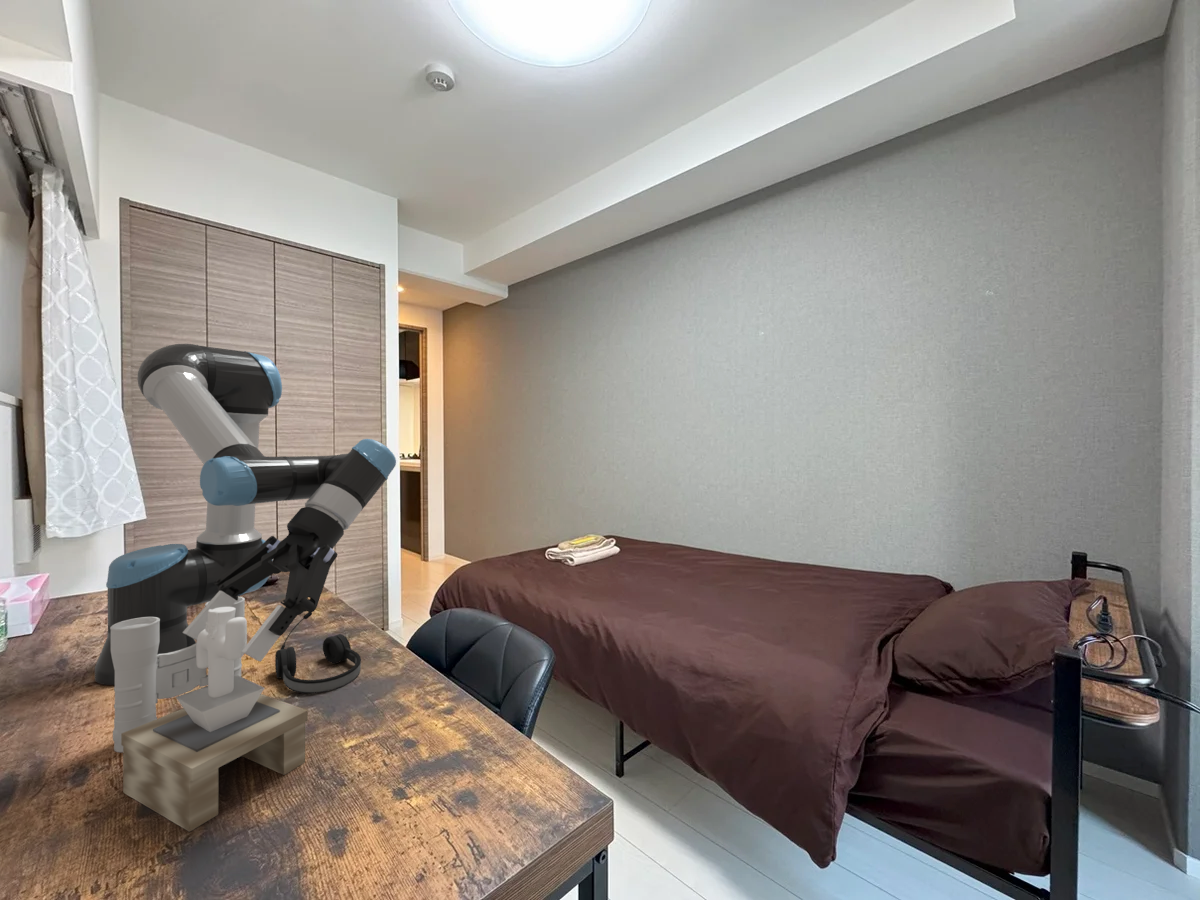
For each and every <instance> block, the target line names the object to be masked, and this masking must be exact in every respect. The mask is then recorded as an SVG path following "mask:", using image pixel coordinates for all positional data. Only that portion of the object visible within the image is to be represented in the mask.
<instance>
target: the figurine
mask: <svg viewBox="0 0 1200 900" xmlns="http://www.w3.org/2000/svg"><path fill="white" fill-rule="evenodd" d="M235 611H236V608H234V607H219V608H215V609H212V610H211V609H209V610H208V622H206V627H205V629H204V630H203V631H201V632H200V633H199V635H198V638H197V640H196V643H197V644H196V664H197V667H198V668H200V669H203V668H206V669H207V675H208V685H206V686H203V687H200V688H198V689H195V690H194V689H193V690H191V691H188V692H186V693H184V694H181V695H178V696H175V699H176V700H177V701H178V703H179V704H180V705H181V707H182V709H183V708H184V709H185V711H186V712H187V714H188V715H189V716H190V718H191V719H192V720H193V722H194V723H196V724H197V725H199V726H201V727H202V728H204V729H206V730H207V731H209V732H212V731H214V730H217V729H219V728H221V727H224V726H226V725H228V724H231V723H233V722H235V721H238V720H240V719H242V718H245V717H247V716H248V715H249V713H250V711H251V710H252V708H253V706H254V705H255V703H256V701H257V700H258V698H259V696H260V695H261V694H262V693H263V692H264V690H265V686H262V685H260V684H258V683H256V682H253V681H251V680H249V679H246V678H245V677H242V676H241V677H240V676H238V675H237V676H234V660H238V659H240V658H241V659H242V657H243V656H244V655H245V653H243V652H241V651H242V650H243V649H244V648H245V646H246V645H247V644H248V643H247V642H248V634H247V633H248V621H247V618H246V617H245V618H244V617H236V618H235Z"/></svg>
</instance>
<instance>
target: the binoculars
mask: <svg viewBox="0 0 1200 900" xmlns="http://www.w3.org/2000/svg"><path fill="white" fill-rule="evenodd" d="M245 600H246V598H245V597H242V596H238V600H237V601H236V602H235V603H234V604H233V606H232V607H234V608H236V611H235V618H236V617H244V618H245V619H246V617H245V615H246V614H245V613H246V612H245V609H246V607H245V602H246V601H245ZM209 602H210V601H209ZM209 602H205V603H204V607H205V606H206V605H207V604H208V603H209ZM110 629H111V656H112V661H113V666H114V670H115V685H114V689H113V691H114V704H113V708H114V718H113V726H114V727H113V730H112V741H113V745H114V746H113V750H114V752H116V753H123V746H122V745H121V733H124V732H126V731H129V730H131V729H134V728H136V727H139V726H141V725H144V724H146V723H149V722H151V721H153V720H156V719H158V717H157V707H156V706H157V704H158V703H159V701H158V700H162V699H163V700H165V699H172V698H174V697H175V698H176V697H178V696H180V695H183V694H186V693H189V692H192V691H194V689H195V688H196V687H198V686H199V687H200V688H203V687H206V686H208V674H207V668H203V669H200V668H198V667H197V664H196V644H197V642H196V643H195V644H194V645H192V646H189V647H187V648H184V649H181V650H178V651H174V652H170V653H165V654H158V655H157V653H158V647H159V642H160V619H159V618H157V617H141V618H134V619H129V620H125V621H122V622H119V623H116V624H114V625H112V626H111V627H110ZM157 658H158V659H157ZM157 662H158V663H157ZM164 665H165V666H164ZM242 667H243V664H242V657H241V658H240V659H238V660H234V676H237V675H238V676H240V677H242Z"/></svg>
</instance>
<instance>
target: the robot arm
mask: <svg viewBox="0 0 1200 900" xmlns="http://www.w3.org/2000/svg"><path fill="white" fill-rule="evenodd" d="M136 380H137V385H138V388H139V390H140V392H141V394H142V395H143V397H144V398H145V400H146V401H147V402H148V403H149V404H150V405H151V406H153V407H155V408H156V409H159V410H162V411H163V412H164V414H165V415H166V417H167V418H168V419H169V421H170V422H171V423H172V424H173V426H174V427H175V429H177V431H178V433H180V435H181V436H182V437H183V440H185V441H186V443H187V444H188V445H189V446H190V448H191V450H192V451H193V452H194V454H196V456H197V458H198V459H199V460H200V462H201V463H202V464H203V465H202V467H201V470H200V475H199V487H200V489H201V491H202V497H203V498H204V500H205V501H206V519H205V520H206V521H205V522H206V523H205V530H204V531H203V532H202V533H200V534H199V535H198V536H197V537H196V543H195V544H196V545H195V547H194V548H190V549H188V547H187V545H185V544H182V543H168V544H164V545H161V544H160V545H154V546H150V547H149V546H148V547H145V548H140V549H137V550H132V551H130V552H127V553H124V554H122V555H120V556H118V557H116V558H115V559H113V560H112V561H111V563H110V564H109V566H108V571H107V580H106V582H105V583H106V588H107V637H106V639H105V641H104V643H103V644H104V645H103V647H102V649H101V652H100V653H99V656H98V658H97V661H96V664H95V667H94V681H95V682H96V683H98V684H101V685H105V686H108V685H109V686H110V685H112V686H115V670H114V666H113V661H112V656H111V629H110V627H111V626H112V625H114V624H116V623H119V622H122V621H125V620H129V619H134V618H141V617H157V618H159V619H160V642H159V647H158V653H157V655H158V654H165V653H170V652H174V651H178V650H181V649H184V648H187V647H189V646H192V645H194V644H195V643H197V638H198V635H199V633H200V632H201V631H203V630H204V629H205V627H206V622H208V610H209V609H211V610H212V609H215V608H219V607H232V606H233V604H234V603H235V602H236V601H237V600H238V597H241V596H243V595H245V594H248V593H252V592H254V591H257V590H259V589H261V588H262V587H263V585H265V584H266V582H267V581H268V580H269V577H270V576H272V575H278V574H280V573H281V572H282V573H289V575H288V580H287V585H286V586H287V587H286V593H285V599H283V600H281V601H280V604H281V605H280V604H277V605H276V607H275V608H274V610H273V611H272V612H271V613H270V614H269V616H268V617H267V618H266V620H264V622H263V623H262V624H261V626H260V627H259V628H258V629H257V631H256V632H255V633H254V635H253V636H252V637H251V639H249V641H247V642H248V643H247V645H246V646H245V648H244V649H243V650H242V651H241V652H243V653H244V655H246V656H248V657H250V658H252V659H253V660H255V661H258V662H262V661H263V659H264V658H265V657H266V655H267V654H268V653H269V651H271V649H272V648H273V646H274V645H275V644H276V642H277V641H278V639H279V638H280V637H281V636H282V635H284V634H285V632H286V631H287V629H289V627H290V625H292V623H293V621H294V620H295V619H296V617H297V616H300V615H302V614H303V613H305V612H307V613H308V612H309V613H312V614H313V613H314V612H315V610H317V607H318V604H319V601H320V599H321V596H322V593H323V590H324V586H325V584H326V580H327V577H328V575H329V572H330V569H331V567H332V565H333V564H334V562H335V561H336V559H337V557H338V552H336V551H335V550H334V548H335V547H336V545H337V544H338V543H339V541H340V540H341V539H342V537H343V536H344V534H345V533H344V531H346V530H348V529H349V528H350V526H351V525H352V523H353V522H354V521H355V520H356V518H357V517H358V516H359V514H360V513H361V512H362V511H363V509H364V508H365V507H366V506H367V505H368V503H369V502H370V501H371V499H373V497H374V496H375V495H376V493H377V492H378V491H379V490H380V488H381V487H382V486H383V485H384V483H386V481H387V480H388V479H389V476H390V474H391V473H392V471H393V470H394V469H395V467H396V464H397V459H396V457H395V454H394V453H393V452H392V450H390V448H388V446H386V445H385V444H383V443H382V442H380V441H377V440H375V439H372V438H363V439H360V441H359V442H357V444H356V443H355V445H354V446H352V447H351V450H350V451H349V452H348V453H341V454H337V455H335V454H334V455H333V454H332V455H309V456H308V455H307V456H303V455H302V456H298V455H297V456H296V455H295V456H265V455H264V454H263V453H262V452H261V451H260V450H259V443H260V442H259V441H260V423H261V422H262V421H263V420H264V419H266V418H267V417H268V416H269V409H271V408H273V407H275V406H277V405H278V404H279V402H280V399H281V397H282V393H283V385H282V378H281V374H280V372H279V369H278V367H277V366H276V364H275V363H274V362H273V360H272V359H270V358H269V357H268V356H265V355H263V354H257V353H255V352H249V351H240V350H233V349H229V348H228V349H227V348H220V347H212V346H206V345H205V346H204V345H198V344H194V343H175V344H170V345H166V346H163V347H161V348H158V349H156V350H154V351H153V352H152V353H150V354H148V355H147V356H146V357H145V359H143V361H142V362H141V364H140V366H139V368H138V371H137V379H136ZM298 500H306V501H305V502H304V507H301V508H300V509H299V510H298V511H297V512H296V513H295V515H293V517H292V518H291V519H290V520H289V522H288V523H287V525H286V528H287V530H288V535H287V536H286V537H284V538H283V539H282V540H279V539H278V538H277V537H275V536H274V535H271V536H269V537H268V538H267V539H262V537H263V536H262V535H263V534H262V533H261V532H260V531H259V530H257V529H256V528H255V522H256V521H255V517H256V504H264V503H275V502H282V501H283V502H284V501H286V502H287V501H298ZM209 601H210V602H209ZM207 602H209V603H208V604H207V605H206V606H205V605H204V607H203V608H202V610H200V612H199V613H198V614H197V616H196V617H194V619H193V620H191V622H190V624H188V618H187V617H188V616H187V615H188V612H187V611H188V607H191V606H195V605H200V604H201V605H202V604H206V603H207ZM157 659H158V658H157ZM157 663H158V662H157ZM164 666H165V665H164Z"/></svg>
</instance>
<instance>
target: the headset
mask: <svg viewBox="0 0 1200 900" xmlns="http://www.w3.org/2000/svg"><path fill="white" fill-rule="evenodd" d="M312 615H313V612H312V613H309V612H308V611H307V613H306V614H305V615H303V618H302V619H301V620H299V622H298V623H297V624H295V626H294V627H293V628H292V629H291V631H289V633H288V635H287V637H286V639H285V640H284V642H283V644H282V645H281V648H280V649H277V651H275V658H274V661H275V662H274V664H275V665H274V666H275V675H276V678H277V679H279V680H283V683H284V686H285V687H287V689H288V690H290V691H292V692H294V693H298V694H304V695H311V694H320V693H325V692H330V691H332V690H336V689H340V688H342V687H344V686H346V685H348V684H350V683H351V682H353V681H355V680H356V679H357V678H358V676H359V674H360V673H361V669H362V668H361V667H362V658H361V655H360V654H359V653H358V652H357V651H356V650H354V649H351V644H350V641H349V640H348V638H347V636H345V635H343V634H341V633H339V634H336V635H331V636H328V637H326V638H325V639H324V640H323V642H322V651H323V656H324V657H325V660H327V662H329V663H330V664H339V662H344V661H346V660H348V661H350V662H352V663H353V664H354V665H353V666H352V667H351V668H350V669H348V670H346V671H345V672H342V673H340V674H337V675H334V676H331V677H326V678H321V679H302V678H297V677H295V675H296V673H297V672H296V671H297V653H296V650H295V648H294V647H293V646H288V647H287V648H286V645H285V644H286V643H287V641H288V639H289V637H290V635H291V633H292V632H293V631H294V630H295V628H296V627H297V626H298V625H299V624H300V623H302V622H303V620H307V619H309V618H310V617H311V616H312Z"/></svg>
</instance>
